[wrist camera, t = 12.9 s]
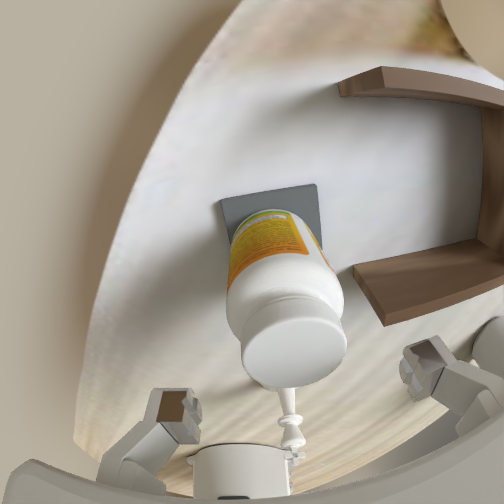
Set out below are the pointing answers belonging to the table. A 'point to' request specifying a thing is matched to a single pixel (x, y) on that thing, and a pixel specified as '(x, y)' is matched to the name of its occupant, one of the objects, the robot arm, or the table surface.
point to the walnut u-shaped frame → (449, 256)
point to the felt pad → (275, 207)
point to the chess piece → (290, 424)
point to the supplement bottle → (284, 301)
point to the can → (491, 347)
